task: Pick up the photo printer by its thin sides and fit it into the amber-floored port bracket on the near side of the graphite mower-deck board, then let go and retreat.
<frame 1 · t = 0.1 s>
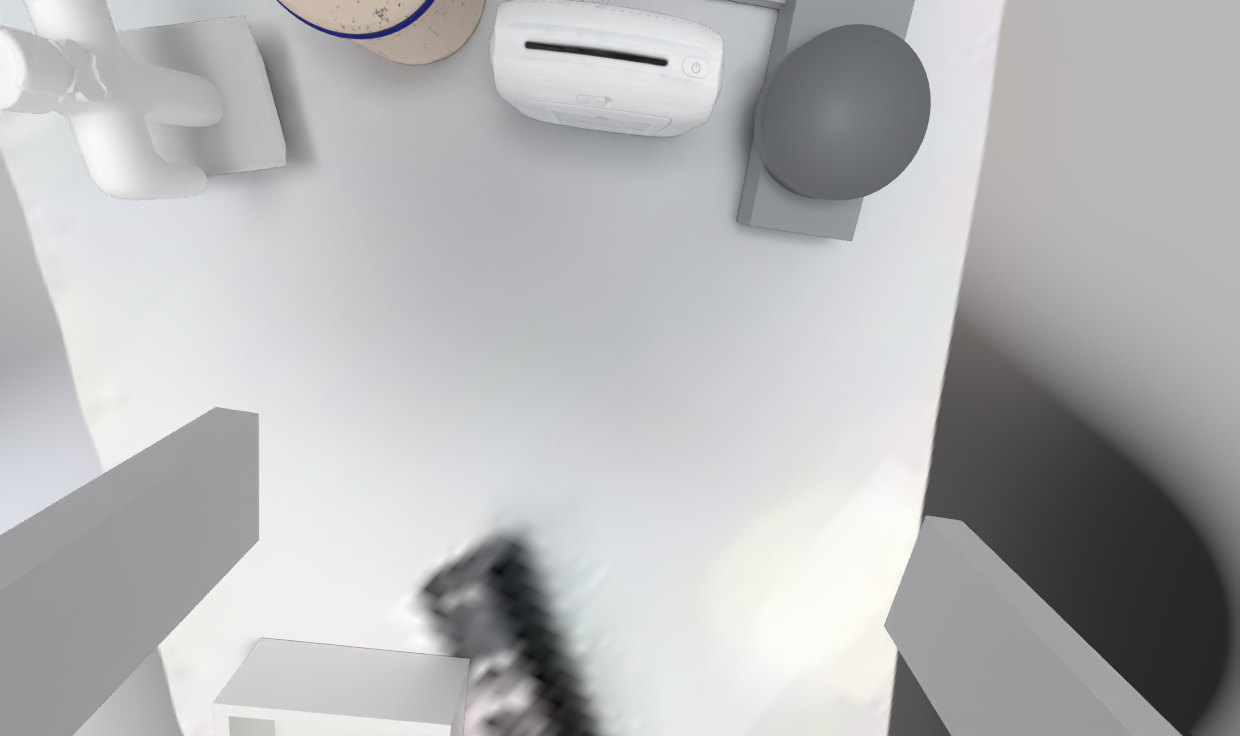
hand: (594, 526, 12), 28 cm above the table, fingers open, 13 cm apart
deck: (831, 13, 34), on the table
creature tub: (364, 726, 49), on the table
photo printer: (606, 94, 35), on the table
figurine: (240, 109, 35), on the table
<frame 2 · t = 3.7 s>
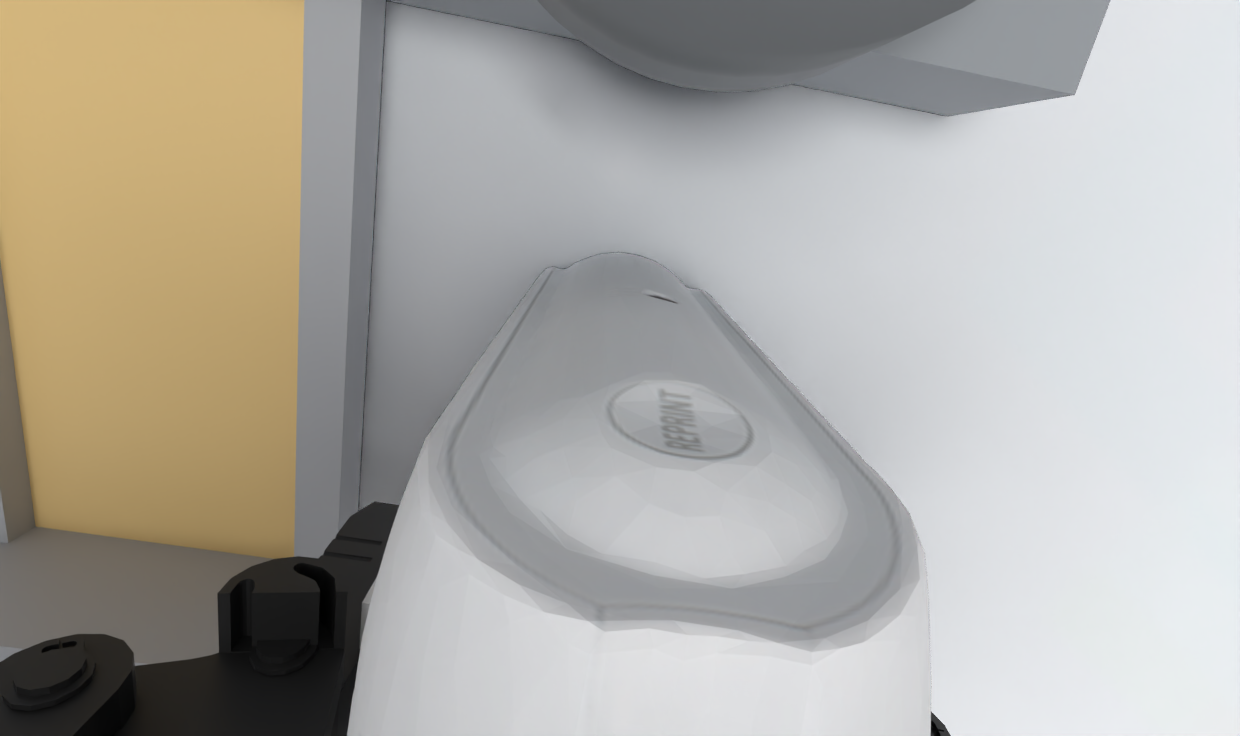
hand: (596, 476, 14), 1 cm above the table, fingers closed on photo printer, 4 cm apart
photo printer: (597, 449, 15), on the table, touching gripper
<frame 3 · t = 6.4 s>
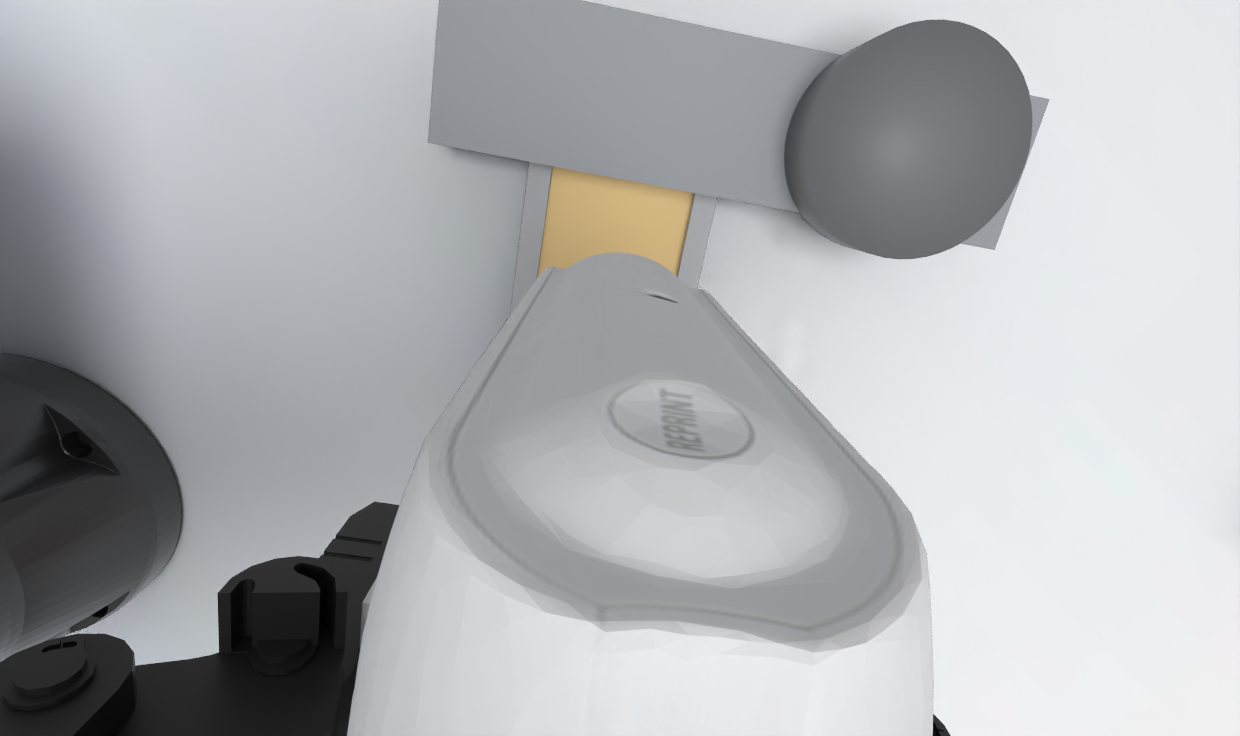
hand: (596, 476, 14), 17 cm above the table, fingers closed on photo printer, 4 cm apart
deck: (722, 127, 27), on the table
photo printer: (597, 449, 15), point 15 cm above the table, touching gripper
when the fingers open (3 cm above the table, at t = 9.3 s): photo printer drops 1 cm, resting on deck.
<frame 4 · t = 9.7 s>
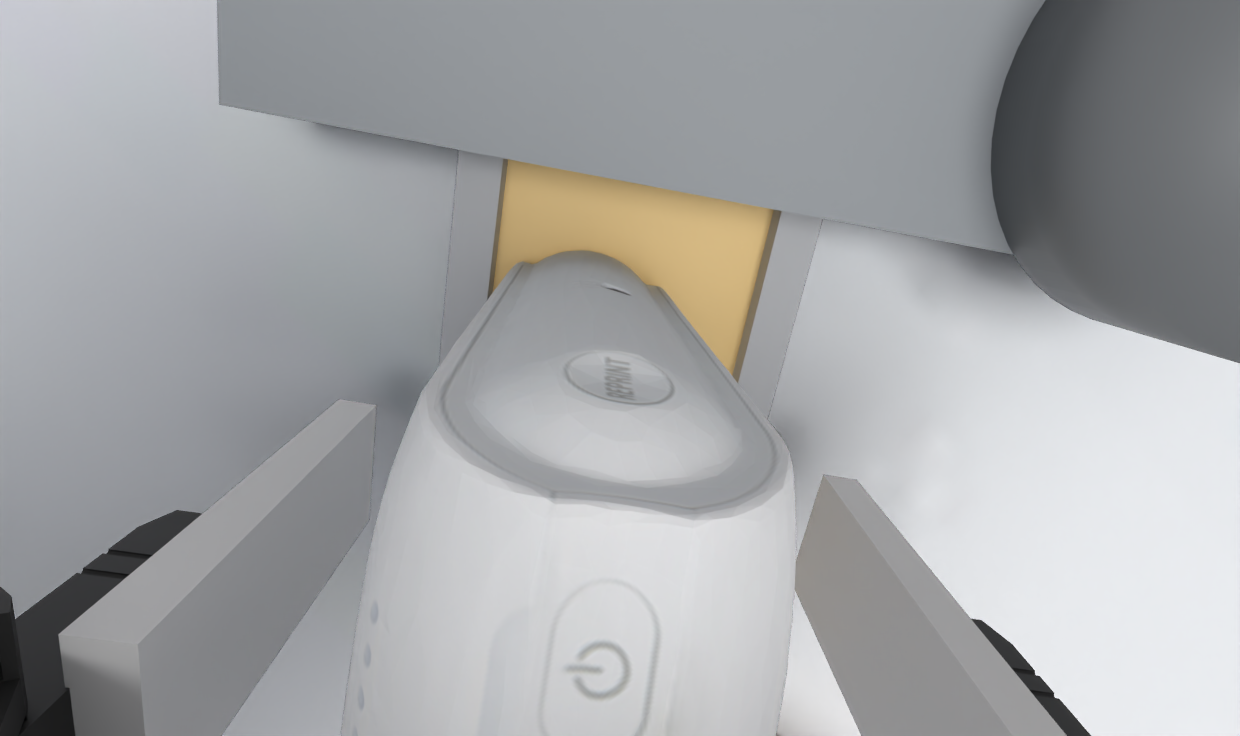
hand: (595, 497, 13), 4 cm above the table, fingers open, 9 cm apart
deck: (830, 85, 14), on the table
photo printer: (561, 431, 16), resting on deck
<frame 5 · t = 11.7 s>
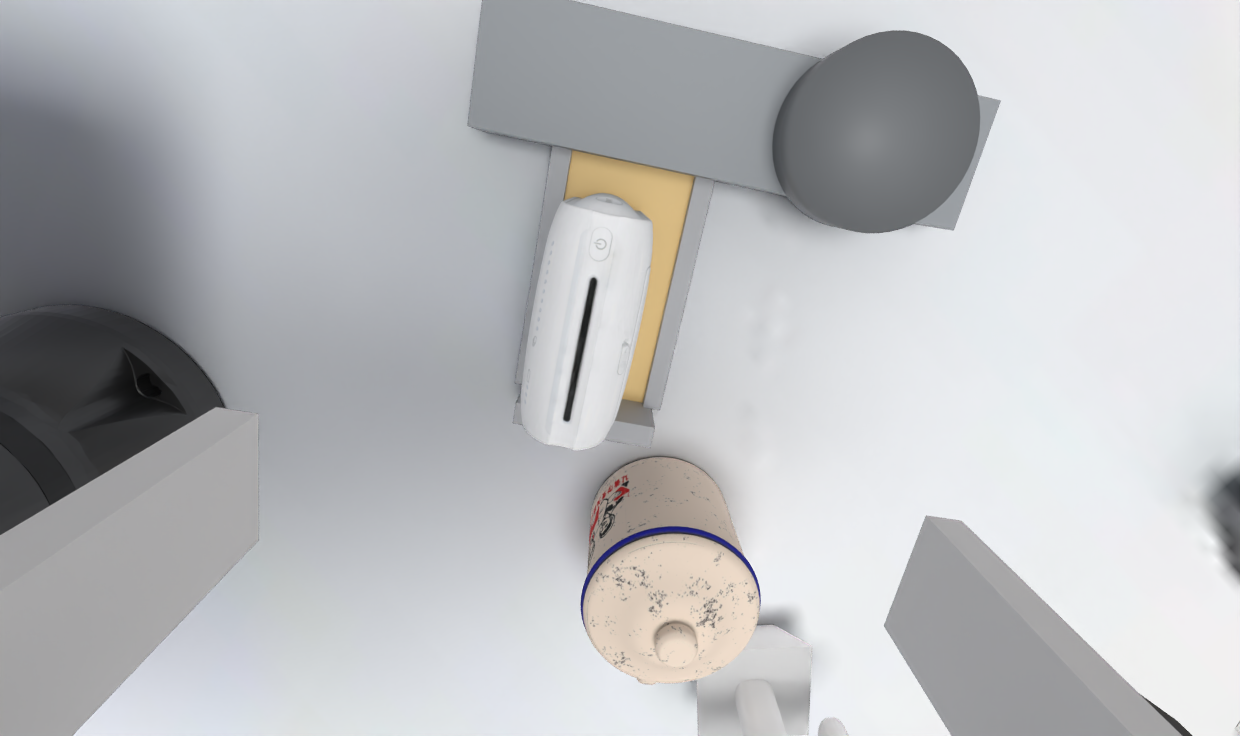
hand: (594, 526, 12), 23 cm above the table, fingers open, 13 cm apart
deck: (720, 120, 31), on the table
photo printer: (591, 285, 33), resting on deck
teacup with lid: (654, 533, 39), on the table
figurine: (741, 649, 42), on the table
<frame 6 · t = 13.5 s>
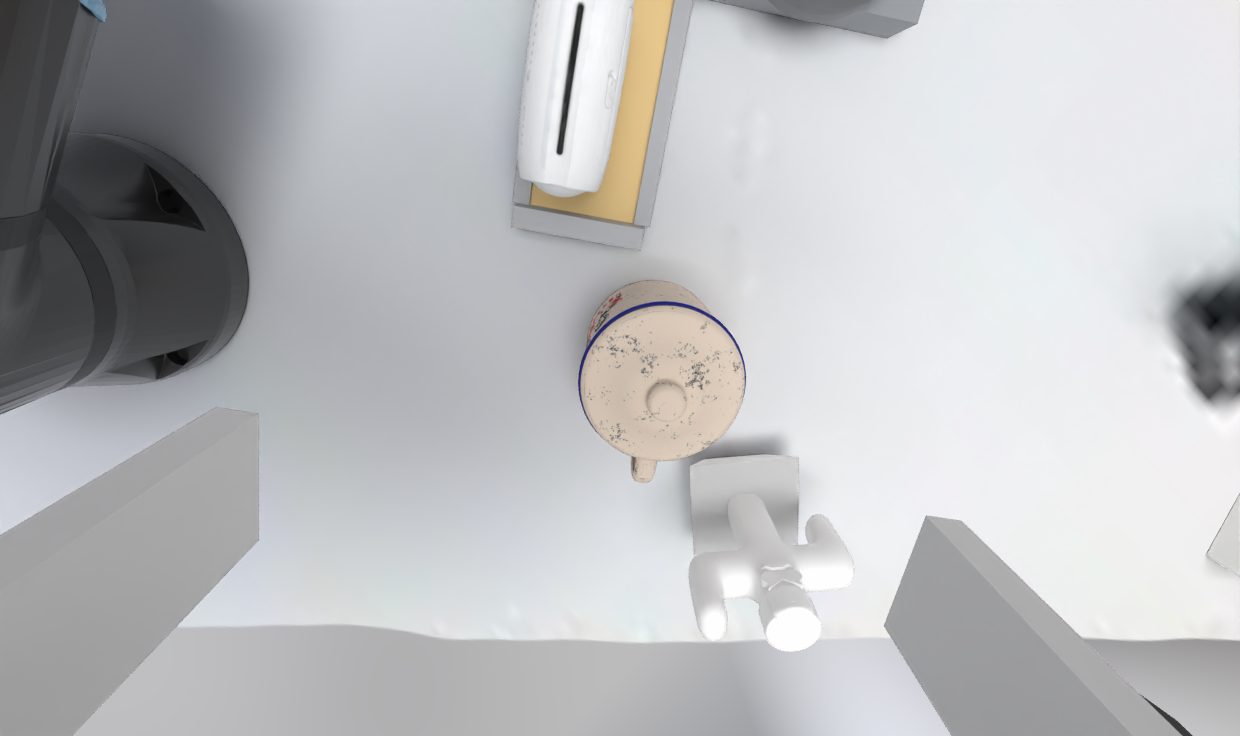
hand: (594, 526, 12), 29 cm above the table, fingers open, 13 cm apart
photo printer: (582, 104, 36), resting on deck
teacup with lid: (647, 362, 41), on the table
figurine: (733, 481, 44), on the table
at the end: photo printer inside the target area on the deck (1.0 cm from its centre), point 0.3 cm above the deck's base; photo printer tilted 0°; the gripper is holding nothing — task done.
